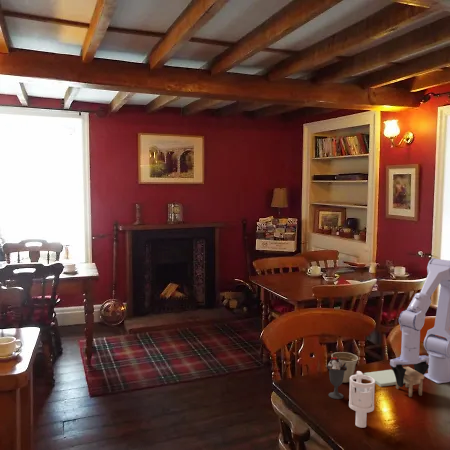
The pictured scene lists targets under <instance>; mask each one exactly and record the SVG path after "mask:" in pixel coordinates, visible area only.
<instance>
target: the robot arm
mask: <svg viewBox="0 0 450 450" xmlns="http://www.w3.org/2000/svg"><path fill="white" fill-rule="evenodd" d="M426 270H427V271H426V272H427V276H426V279H425V281H424V282H423V285H422V288H421V289H420V292H417V293H415V294H414V296H413V297H412V300H411V301H410V302H409V305H408V307H407V308H406V309H405V310H403V311H401V312H400V314H399V317H398V324H399V327H400V328H399V330H400V332H401V346H400V347H401V349H400V352H401V353H400V355H399V357H395V358H393V359H389V361H390V362H389V365H390V367H391V370H393V372H394V374H395V377H396V381H397V385H398V386H399V388H403V387H404V383H403V381H404V375H405V372H406V369H404V368H403V367H404V366H405V365H406V366H407V365H408V366H409V365H413V368H414V370H416V371H417V372H419V373H421V374H423V375H424V378H427V379H428V380H430V381H432V382H434V383H435V384H446V383H450V260H447V259H438V258H436V257H433V258H430V260H429V261H428V263H427V267H426ZM439 285H440V289H439V294H438V301H437V307H436V314H435V320H434V326H433V327H432V328H430V329H427V332H426V335H425V337H424V340H423V347H424V349H425V350H426V353H427V354H428V355H420V343H421V342H420V341H421V330H422V328H423V327H424V326H425V325H424V324H425V321H426V320H425V319H426V313H427V311H428V310H429V307H430V306H431V304H432V300H431V297H432V295H433V294H434V292H435V291H436V289H437V288H438V286H439Z"/></svg>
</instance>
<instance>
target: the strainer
mask: <svg viewBox="0 0 450 450" xmlns="http://www.w3.org/2000/svg"><path fill="white" fill-rule="evenodd" d="M355 380H356V381H355ZM362 380H366V381H370V382H369V383H363V382H362ZM375 386H376V383H375V380H374V379H373V378H372V377H370V376H367V375H364V373H363V372H362V371H360V370H357V371H356V374H354V375H352V376H350V382H349V395H348V399H349V401H348V407H349V408H350V410H353V411H355V422H354V423H355V425H354V426H356V427H358V428H361V429H362V428H366V427H367V413H371V412H374V410H375Z"/></svg>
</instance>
